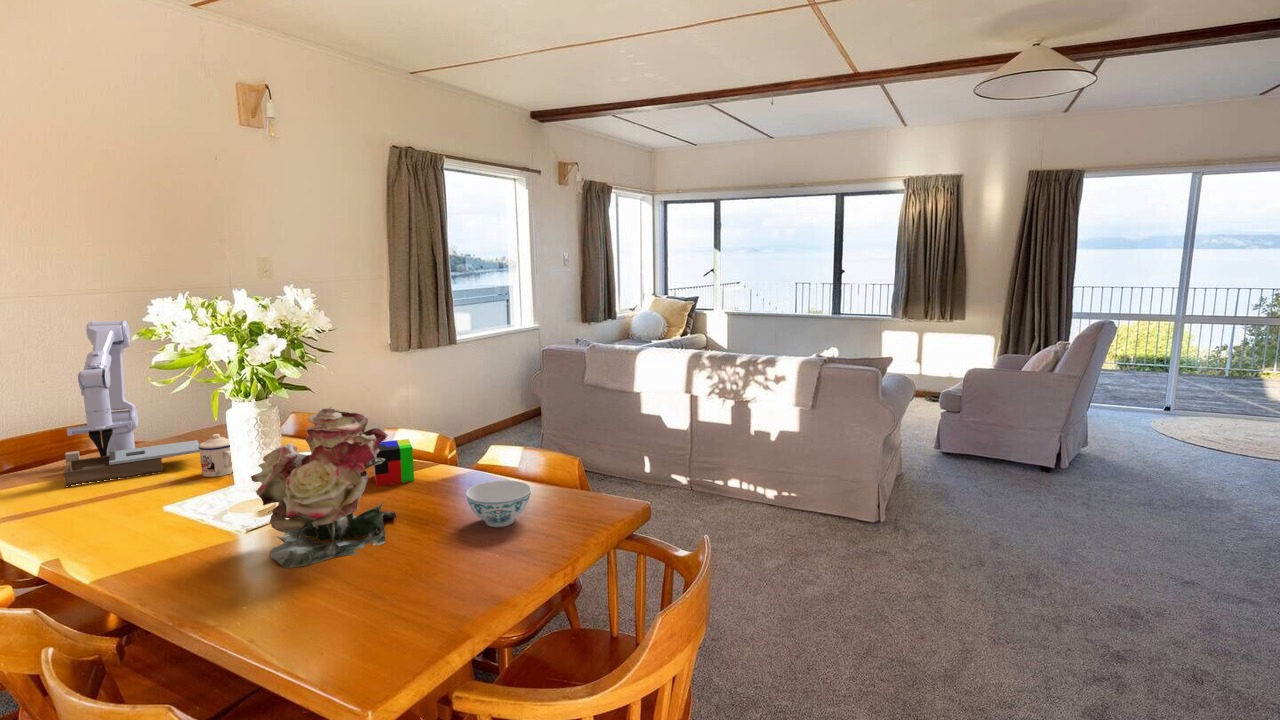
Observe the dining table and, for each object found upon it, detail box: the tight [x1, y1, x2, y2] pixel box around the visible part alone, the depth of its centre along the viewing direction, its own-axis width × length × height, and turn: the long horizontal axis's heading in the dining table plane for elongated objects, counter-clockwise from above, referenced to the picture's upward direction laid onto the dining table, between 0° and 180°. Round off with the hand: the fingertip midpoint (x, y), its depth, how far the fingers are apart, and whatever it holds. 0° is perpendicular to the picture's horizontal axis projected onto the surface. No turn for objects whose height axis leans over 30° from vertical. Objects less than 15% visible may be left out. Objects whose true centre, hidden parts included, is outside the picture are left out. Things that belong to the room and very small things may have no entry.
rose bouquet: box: [250, 406, 398, 569], centre depth 144 cm, size 26×29×30 cm
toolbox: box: [63, 453, 164, 487], centre depth 195 cm, size 14×22×4 cm, turn 127°
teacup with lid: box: [198, 433, 233, 478], centre depth 195 cm, size 12×9×12 cm
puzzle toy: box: [373, 438, 415, 487], centre depth 190 cm, size 10×10×10 cm
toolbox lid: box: [109, 439, 200, 465], centre depth 201 cm, size 14×22×3 cm, turn 127°
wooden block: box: [64, 450, 81, 466], centre depth 197 cm, size 3×3×6 cm
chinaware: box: [465, 480, 532, 528], centre depth 157 cm, size 15×15×8 cm
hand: (103, 455), depth 193 cm, fingers closed
